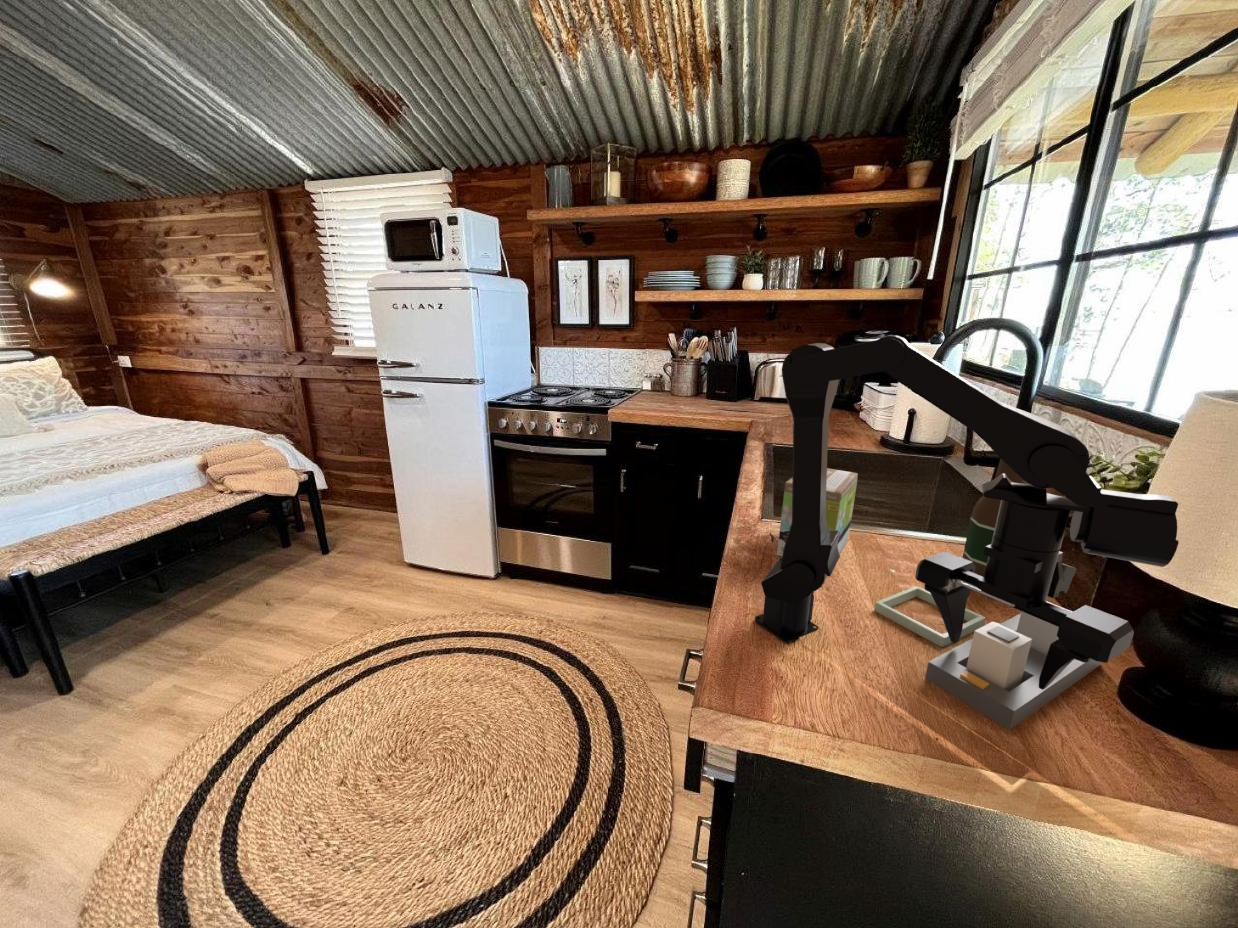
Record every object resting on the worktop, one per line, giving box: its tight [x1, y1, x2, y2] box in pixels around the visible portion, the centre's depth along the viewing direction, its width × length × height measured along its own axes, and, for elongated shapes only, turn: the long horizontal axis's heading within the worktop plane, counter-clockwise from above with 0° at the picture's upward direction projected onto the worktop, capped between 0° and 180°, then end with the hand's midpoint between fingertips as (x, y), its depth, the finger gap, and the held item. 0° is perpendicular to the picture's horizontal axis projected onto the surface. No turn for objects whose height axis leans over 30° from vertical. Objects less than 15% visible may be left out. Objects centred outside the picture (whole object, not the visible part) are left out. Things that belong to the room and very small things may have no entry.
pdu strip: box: [924, 612, 1102, 731], centre depth 62 cm, size 25×9×3 cm, turn 118°
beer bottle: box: [962, 458, 1025, 577], centre depth 80 cm, size 8×8×24 cm
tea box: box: [776, 467, 859, 558], centre depth 94 cm, size 15×10×15 cm
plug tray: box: [873, 585, 987, 648], centre depth 73 cm, size 10×10×2 cm
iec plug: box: [966, 620, 1032, 691], centre depth 58 cm, size 4×4×7 cm
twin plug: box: [1017, 600, 1073, 656], centre depth 63 cm, size 4×4×7 cm
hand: (995, 663), depth 58 cm, fingers open, 9 cm apart
